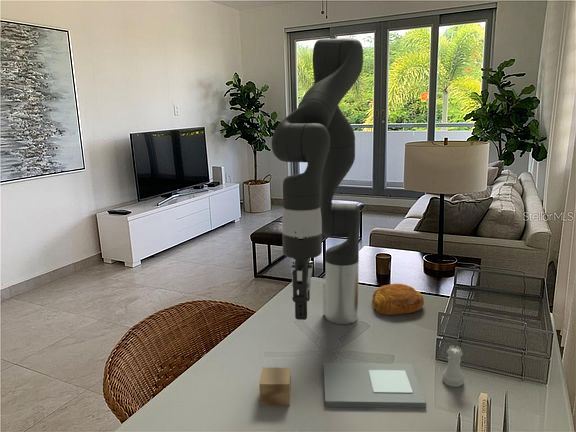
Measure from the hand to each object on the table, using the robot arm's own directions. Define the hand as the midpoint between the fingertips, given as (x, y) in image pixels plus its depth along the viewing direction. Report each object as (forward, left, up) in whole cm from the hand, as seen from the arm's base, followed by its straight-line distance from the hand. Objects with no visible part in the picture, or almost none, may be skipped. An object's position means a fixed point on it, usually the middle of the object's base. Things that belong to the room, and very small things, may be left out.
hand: (302, 309), depth 89 cm
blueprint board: (+6, +14, -20) cm, 25 cm away
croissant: (-17, +50, -20) cm, 56 cm away
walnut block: (-4, -4, -20) cm, 21 cm away
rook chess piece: (+16, +29, -20) cm, 38 cm away
